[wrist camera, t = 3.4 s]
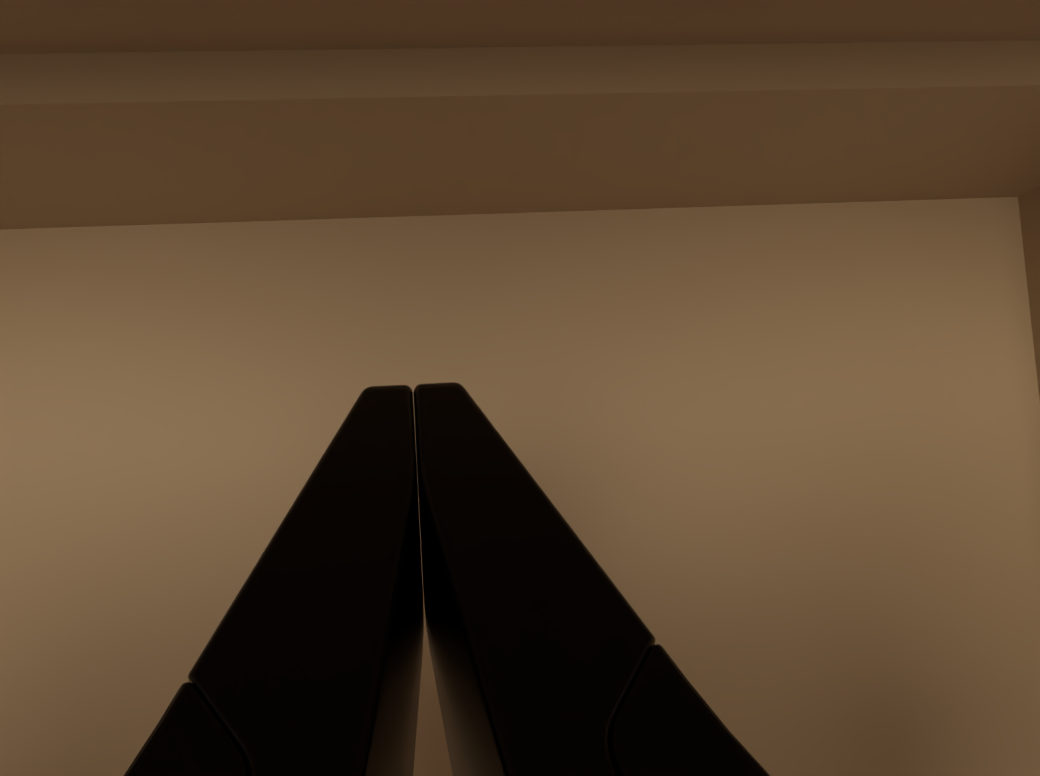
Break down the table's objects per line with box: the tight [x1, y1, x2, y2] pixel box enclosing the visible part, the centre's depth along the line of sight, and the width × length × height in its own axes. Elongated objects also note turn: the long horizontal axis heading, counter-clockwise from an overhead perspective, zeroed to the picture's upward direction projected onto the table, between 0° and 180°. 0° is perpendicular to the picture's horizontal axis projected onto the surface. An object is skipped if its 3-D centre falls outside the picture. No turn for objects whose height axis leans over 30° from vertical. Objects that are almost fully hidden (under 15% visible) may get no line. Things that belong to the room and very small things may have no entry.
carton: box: [0, 40, 1040, 776], centre depth 14 cm, size 16×24×6 cm, turn 94°
